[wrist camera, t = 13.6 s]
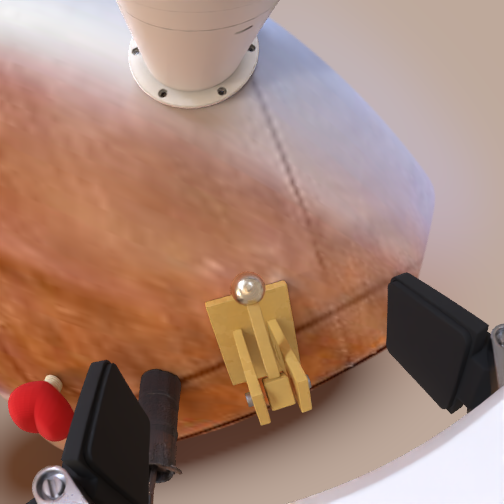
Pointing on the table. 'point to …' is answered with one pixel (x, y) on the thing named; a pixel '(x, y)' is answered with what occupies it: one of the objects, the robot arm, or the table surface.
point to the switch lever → (262, 338)
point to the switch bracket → (247, 351)
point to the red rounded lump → (41, 409)
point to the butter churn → (161, 423)
